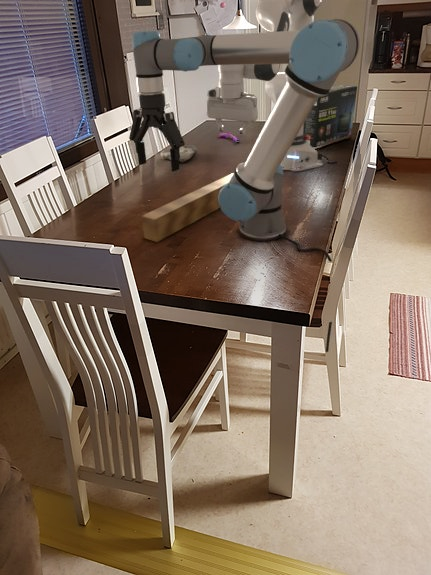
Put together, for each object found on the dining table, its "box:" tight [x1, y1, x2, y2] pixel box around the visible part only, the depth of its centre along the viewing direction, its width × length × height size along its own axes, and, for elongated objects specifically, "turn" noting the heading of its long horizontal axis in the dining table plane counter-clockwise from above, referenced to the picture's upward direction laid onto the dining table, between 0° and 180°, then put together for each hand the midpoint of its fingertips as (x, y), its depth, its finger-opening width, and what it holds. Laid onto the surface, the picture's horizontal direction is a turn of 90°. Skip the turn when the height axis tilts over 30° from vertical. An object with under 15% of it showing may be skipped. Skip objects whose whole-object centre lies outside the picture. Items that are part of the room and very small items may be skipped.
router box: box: [303, 84, 358, 147], centre depth 238 cm, size 36×11×27 cm, turn 134°
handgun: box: [218, 132, 240, 144], centre depth 257 cm, size 21×8×2 cm, turn 11°
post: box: [141, 172, 234, 243], centre depth 164 cm, size 55×6×8 cm, turn 144°
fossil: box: [160, 144, 199, 163], centre depth 229 cm, size 18×11×15 cm
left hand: (158, 167), depth 141 cm, fingers open, 13 cm apart
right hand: (231, 132), depth 167 cm, fingers open, 8 cm apart
